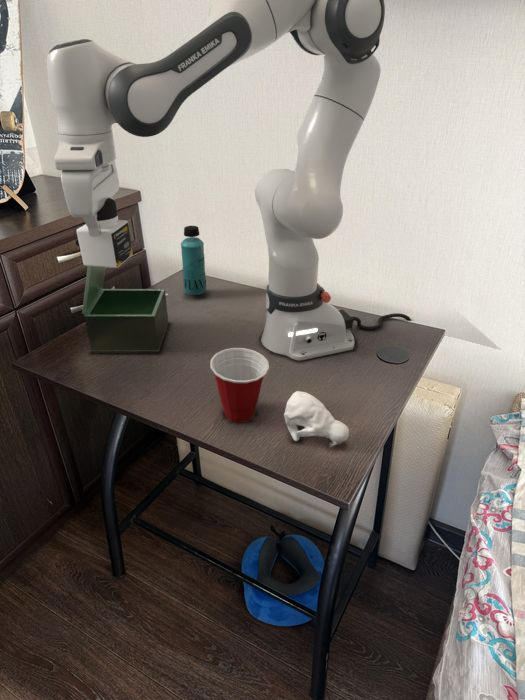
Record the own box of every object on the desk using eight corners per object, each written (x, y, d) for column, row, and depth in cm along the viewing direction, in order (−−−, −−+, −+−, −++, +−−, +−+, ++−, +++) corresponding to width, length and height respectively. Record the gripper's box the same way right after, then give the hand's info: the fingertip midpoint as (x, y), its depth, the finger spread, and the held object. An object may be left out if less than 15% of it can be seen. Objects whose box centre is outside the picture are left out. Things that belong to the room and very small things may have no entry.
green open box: (168, 323, 129) (164, 288, 124) (158, 353, 116) (154, 316, 111) (108, 323, 129) (101, 288, 124) (91, 353, 116) (84, 315, 111)
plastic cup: (250, 439, 91) (250, 385, 85) (201, 420, 96) (198, 368, 89) (278, 407, 99) (279, 356, 93) (232, 391, 104) (230, 341, 97)
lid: (111, 224, 115) (89, 218, 115) (93, 246, 103) (69, 239, 102) (103, 287, 123) (82, 282, 123) (85, 314, 111) (62, 309, 110)
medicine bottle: (117, 268, 94) (106, 204, 87) (82, 266, 95) (69, 202, 89) (133, 255, 100) (124, 194, 93) (100, 253, 101) (89, 192, 95)
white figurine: (296, 381, 92) (359, 403, 88) (290, 416, 96) (350, 438, 93) (282, 399, 87) (348, 424, 83) (277, 435, 91) (339, 460, 88)
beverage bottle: (181, 299, 141) (175, 230, 131) (188, 289, 147) (182, 222, 137) (203, 301, 140) (199, 231, 130) (209, 291, 146) (206, 224, 136)
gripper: (87, 140, 96) (100, 212, 103) (49, 161, 78) (68, 246, 85) (121, 139, 96) (131, 211, 103) (90, 161, 78) (105, 246, 85)
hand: (102, 227), depth 94 cm, fingers closed on medicine bottle, 7 cm apart
